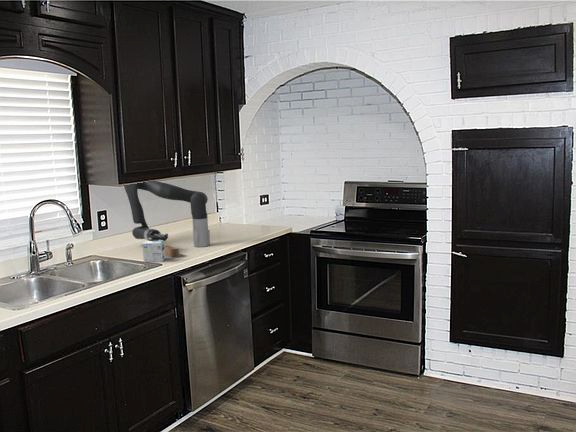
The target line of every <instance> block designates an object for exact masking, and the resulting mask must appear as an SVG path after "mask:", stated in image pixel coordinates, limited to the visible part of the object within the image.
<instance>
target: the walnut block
mask: <svg viewBox="0 0 576 432" xmlns="http://www.w3.org/2000/svg"><path fill="white" fill-rule="evenodd" d="M179 249H180V248H177V247H174V246H172V245H164V254H165V255H166V256H169V257H178V256H179V253H180V252H179Z"/></svg>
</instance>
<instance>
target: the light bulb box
mask: <svg viewBox="0 0 576 432" xmlns="http://www.w3.org/2000/svg"><path fill="white" fill-rule="evenodd" d="M164 243H165V241H162V240H161V241H160V240H159V241H148V240H147V241H146V240H145V241H144V242H142V256H143V263H154V262H155V263H157V262H158V263H159V262H164V260H166V259H165V254H164V246H165V244H164Z"/></svg>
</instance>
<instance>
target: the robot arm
mask: <svg viewBox="0 0 576 432" xmlns="http://www.w3.org/2000/svg"><path fill="white" fill-rule="evenodd" d="M123 186H124V187H123V188H124V191H125V193H126V196H127V199H128V203H129V206H130V210H131V211H130V212H131V215H132V220H133V223H134V224H141V225H140V226H137V227H134V228H133V229H132V232H131V233H132V236H133V237H134V238H135V239H136V240H145V241H146V240H147V241H164V242H166V241H167V239H169V233H165V234H164V233H161V231H160V230H158V229H154V228H149V226H148V224H147V221H146V217H145V213H144V208H143V205H142V204H141V202H140V199H139V193H138V190H141V191H146V192H150V193H151V194H153V195H155V196H157V197H159V198H161V199H166V200H172V201H182V202H186V203H187V202H188V203H190V213H191V217H192V218H191V219H192V234H193V237H192V238H193V246H194V247H195V248H205V247H208V246H211V233H210V229H209V223H208V222H209V221H208V219H209V218H208V212H207V203H208V199H209V198H208V196H207V195H206V193H204V192H202V191H196V190H190V189H185V188H182V187H179V186H177V185H174V184H170V183H167V182H162V181H158V180H157V181H156V180H153V181H148V182H143V183H137V184H130V185H124V184H123Z"/></svg>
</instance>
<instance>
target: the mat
mask: <svg viewBox="0 0 576 432" xmlns="http://www.w3.org/2000/svg"><path fill="white" fill-rule="evenodd" d="M183 257H187V255H185V254H182V253H180V252H179V256H178V257H169V256H166V255H165V259H164V260H167V261H168V260H173V259H177V258H183Z"/></svg>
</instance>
